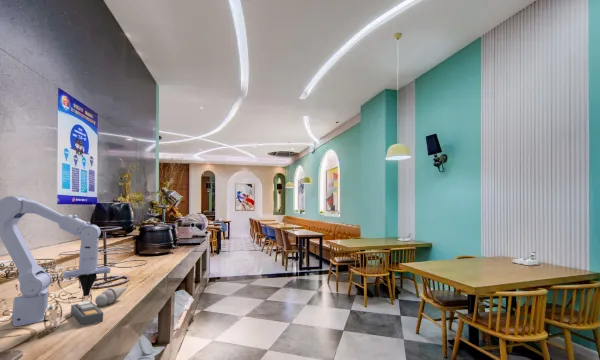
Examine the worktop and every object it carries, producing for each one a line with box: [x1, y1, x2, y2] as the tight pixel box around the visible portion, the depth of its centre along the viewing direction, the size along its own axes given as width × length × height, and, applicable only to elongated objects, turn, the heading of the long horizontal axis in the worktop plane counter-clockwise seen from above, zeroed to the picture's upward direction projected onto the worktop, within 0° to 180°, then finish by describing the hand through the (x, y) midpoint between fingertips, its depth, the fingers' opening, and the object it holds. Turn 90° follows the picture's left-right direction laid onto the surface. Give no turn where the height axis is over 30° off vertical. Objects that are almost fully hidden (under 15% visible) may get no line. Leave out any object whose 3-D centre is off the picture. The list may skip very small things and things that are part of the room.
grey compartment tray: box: [70, 301, 104, 327], centre depth 118 cm, size 6×16×3 cm, turn 45°
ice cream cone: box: [94, 286, 129, 307], centre depth 135 cm, size 6×6×15 cm
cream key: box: [76, 300, 91, 308], centre depth 121 cm, size 4×4×1 cm
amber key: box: [83, 310, 98, 315], centre depth 114 cm, size 4×4×1 cm
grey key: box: [80, 304, 94, 311], centre depth 118 cm, size 4×4×1 cm
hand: (86, 295), depth 119 cm, fingers closed
